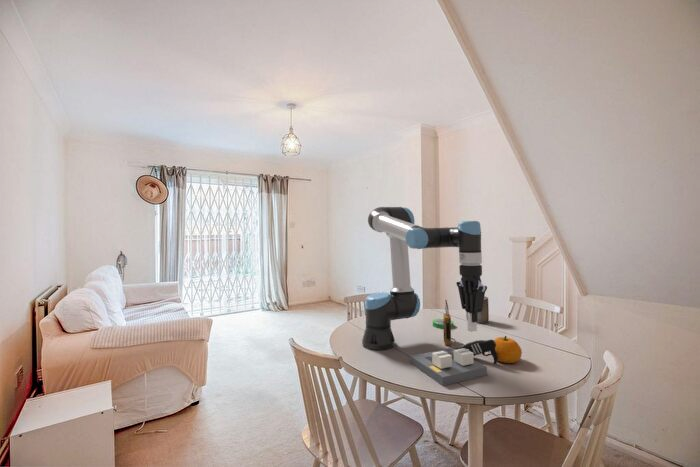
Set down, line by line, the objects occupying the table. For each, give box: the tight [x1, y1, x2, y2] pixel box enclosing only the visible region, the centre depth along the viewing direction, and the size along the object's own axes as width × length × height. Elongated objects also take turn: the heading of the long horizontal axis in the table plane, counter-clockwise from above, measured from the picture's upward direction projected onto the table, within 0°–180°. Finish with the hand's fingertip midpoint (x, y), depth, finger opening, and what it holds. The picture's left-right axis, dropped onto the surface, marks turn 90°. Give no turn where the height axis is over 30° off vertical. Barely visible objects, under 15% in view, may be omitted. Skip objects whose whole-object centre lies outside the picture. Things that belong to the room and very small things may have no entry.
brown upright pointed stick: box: [442, 299, 466, 350], centre depth 150 cm, size 15×10×20 cm
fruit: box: [493, 335, 523, 364], centre depth 131 cm, size 12×12×10 cm
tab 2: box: [453, 347, 475, 366], centre depth 121 cm, size 5×5×4 cm
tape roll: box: [432, 318, 455, 330], centre depth 177 cm, size 11×11×3 cm
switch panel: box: [409, 347, 488, 387], centre depth 123 cm, size 20×20×3 cm
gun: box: [461, 339, 499, 365], centre depth 131 cm, size 3×16×10 cm, turn 51°
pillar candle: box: [477, 296, 490, 325], centre depth 184 cm, size 10×10×15 cm
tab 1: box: [432, 351, 452, 369], centre depth 119 cm, size 5×5×4 cm
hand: (472, 330), depth 114 cm, fingers closed
